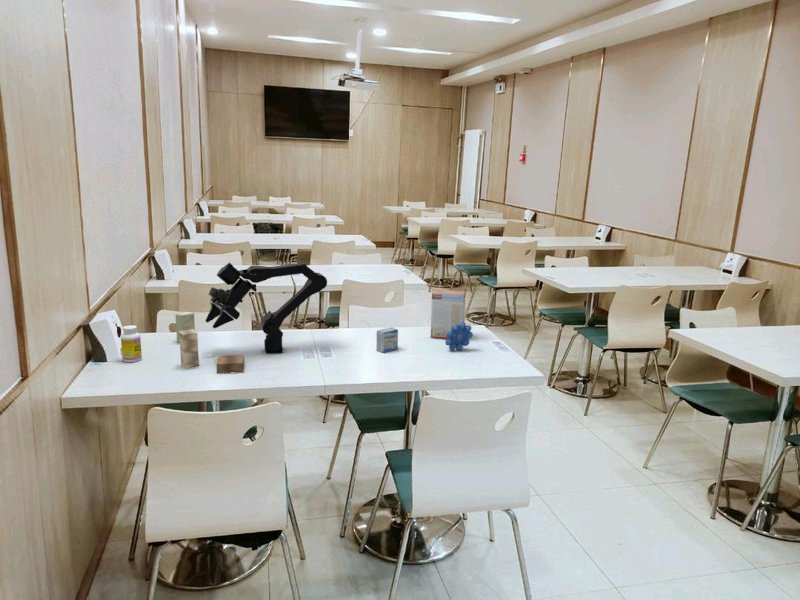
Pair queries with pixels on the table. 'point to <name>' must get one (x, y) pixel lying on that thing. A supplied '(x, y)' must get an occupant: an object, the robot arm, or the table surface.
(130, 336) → the supplement bottle
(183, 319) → the skincare box
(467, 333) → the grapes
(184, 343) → the oak post
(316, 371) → the table surface
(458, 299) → the cracker box
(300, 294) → the robot arm
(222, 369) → the walnut block
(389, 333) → the medicine box
